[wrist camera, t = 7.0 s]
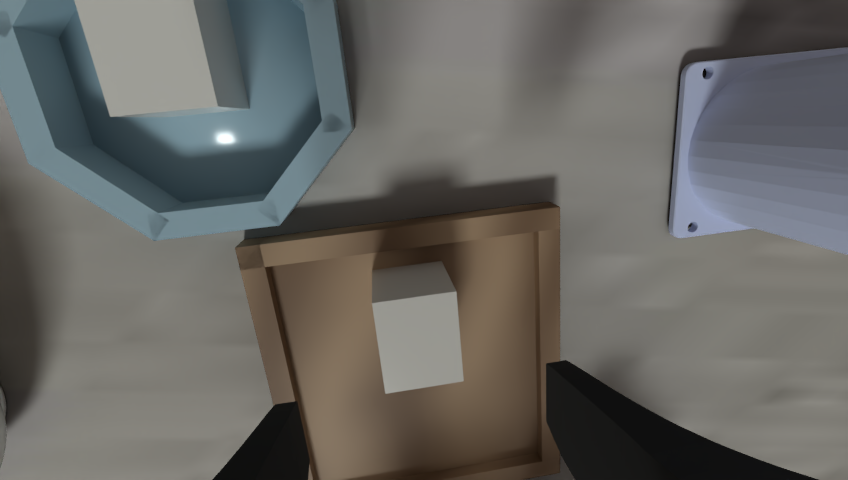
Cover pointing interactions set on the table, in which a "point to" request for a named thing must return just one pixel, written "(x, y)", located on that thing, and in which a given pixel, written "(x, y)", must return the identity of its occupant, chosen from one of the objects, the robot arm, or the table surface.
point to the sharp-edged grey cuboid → (416, 326)
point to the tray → (359, 354)
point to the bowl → (183, 120)
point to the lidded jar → (2, 424)
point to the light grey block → (164, 56)
